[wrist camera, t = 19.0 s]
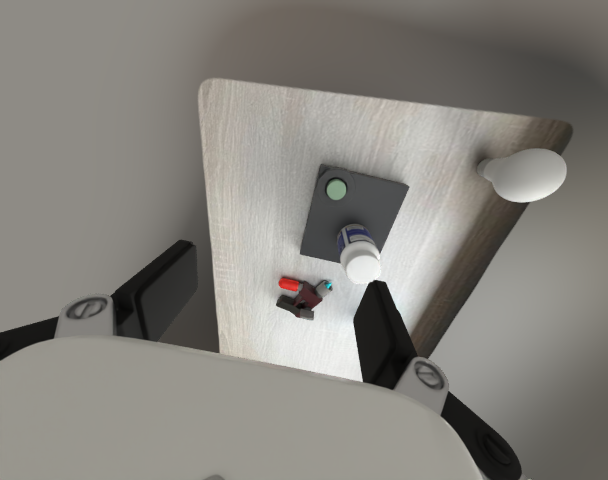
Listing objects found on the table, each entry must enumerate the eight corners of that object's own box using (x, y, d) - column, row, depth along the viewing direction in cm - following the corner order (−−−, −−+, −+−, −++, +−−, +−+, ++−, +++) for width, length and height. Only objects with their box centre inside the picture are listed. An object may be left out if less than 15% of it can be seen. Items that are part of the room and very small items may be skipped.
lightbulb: (495, 187, 34) (566, 209, 24) (455, 186, 34) (508, 208, 25) (512, 144, 31) (599, 150, 22) (468, 144, 32) (533, 150, 22)
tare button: (329, 176, 32) (329, 178, 31) (347, 181, 32) (348, 183, 31) (324, 195, 33) (324, 197, 32) (342, 199, 34) (343, 201, 32)
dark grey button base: (321, 161, 34) (321, 164, 31) (406, 181, 35) (414, 186, 32) (300, 249, 42) (298, 258, 39) (370, 265, 42) (374, 275, 39)
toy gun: (337, 283, 45) (339, 299, 40) (300, 314, 49) (298, 331, 45) (301, 255, 42) (298, 270, 38) (266, 291, 47) (260, 307, 43)
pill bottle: (352, 257, 39) (361, 294, 31) (329, 238, 38) (332, 271, 29) (377, 237, 37) (394, 270, 28) (354, 216, 36) (365, 243, 27)
